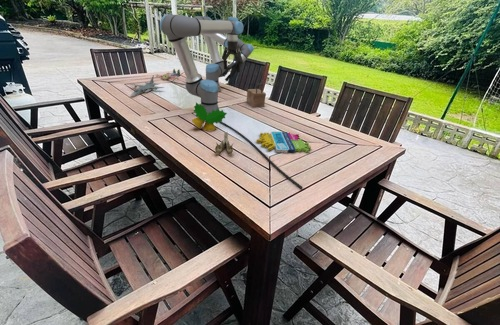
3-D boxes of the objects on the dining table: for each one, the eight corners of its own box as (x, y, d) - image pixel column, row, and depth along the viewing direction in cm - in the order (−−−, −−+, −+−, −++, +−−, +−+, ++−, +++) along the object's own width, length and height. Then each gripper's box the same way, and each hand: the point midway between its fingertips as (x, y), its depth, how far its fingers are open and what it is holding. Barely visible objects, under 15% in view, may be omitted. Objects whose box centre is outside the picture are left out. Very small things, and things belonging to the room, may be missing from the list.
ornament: (218, 133, 171) (224, 110, 169) (221, 134, 163) (227, 111, 161) (186, 125, 162) (192, 101, 160) (189, 126, 155) (195, 101, 153)
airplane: (124, 87, 237) (122, 75, 232) (159, 84, 250) (158, 74, 245) (128, 99, 208) (126, 87, 203) (168, 96, 222) (167, 84, 217)
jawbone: (234, 135, 144) (233, 125, 135) (233, 160, 138) (232, 151, 129) (217, 135, 144) (216, 125, 135) (216, 160, 138) (214, 150, 129)
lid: (265, 95, 207) (266, 84, 203) (254, 95, 203) (255, 84, 199) (258, 90, 219) (259, 79, 215) (247, 90, 215) (247, 80, 211)
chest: (264, 106, 212) (265, 94, 208) (253, 107, 209) (253, 95, 204) (257, 101, 224) (258, 90, 219) (246, 102, 220) (247, 90, 215)
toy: (188, 70, 290) (175, 74, 264) (188, 76, 294) (176, 81, 268) (165, 67, 295) (150, 71, 269) (166, 74, 299) (151, 78, 273)
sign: (313, 150, 142) (258, 149, 139) (312, 153, 143) (258, 152, 140) (301, 132, 164) (254, 130, 161) (301, 134, 165) (254, 133, 162)
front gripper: (248, 42, 190) (246, 72, 200) (223, 39, 203) (223, 67, 213) (241, 42, 185) (240, 73, 195) (217, 39, 198) (217, 68, 208)
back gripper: (241, 56, 218) (224, 76, 219) (244, 67, 242) (229, 85, 244) (234, 51, 218) (218, 70, 219) (238, 62, 243) (224, 80, 244)
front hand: (231, 70), depth 204 cm, fingers open, 13 cm apart
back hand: (224, 78), depth 232 cm, fingers open, 13 cm apart
